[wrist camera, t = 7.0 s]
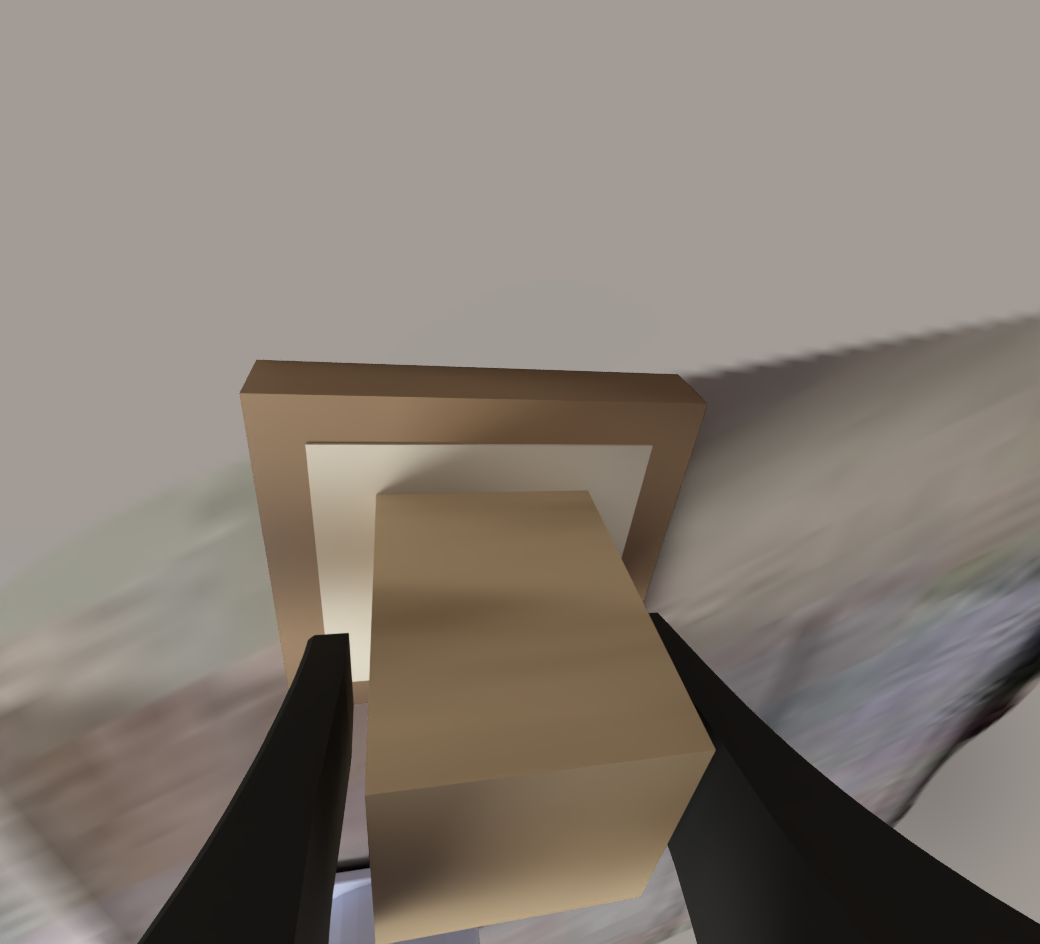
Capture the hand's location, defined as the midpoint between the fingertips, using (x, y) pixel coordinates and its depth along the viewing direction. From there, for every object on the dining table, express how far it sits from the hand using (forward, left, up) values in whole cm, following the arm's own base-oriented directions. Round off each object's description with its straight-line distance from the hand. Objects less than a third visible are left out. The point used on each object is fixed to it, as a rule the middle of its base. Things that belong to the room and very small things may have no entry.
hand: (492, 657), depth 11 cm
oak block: (0, 0, -2) cm, 2 cm away
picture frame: (0, 0, -4) cm, 4 cm away
